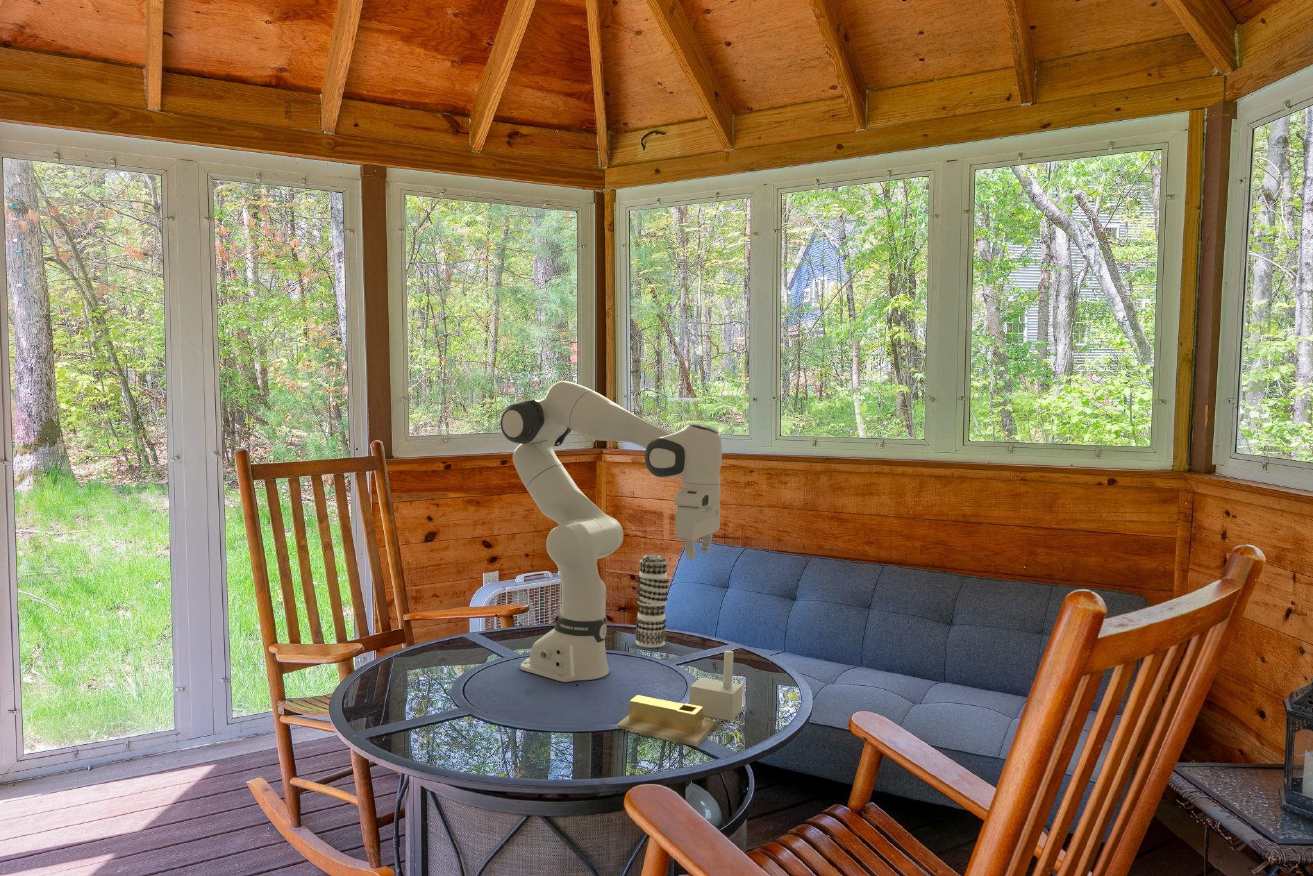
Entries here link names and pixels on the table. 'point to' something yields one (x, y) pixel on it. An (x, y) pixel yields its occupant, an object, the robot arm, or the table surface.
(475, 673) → the table surface
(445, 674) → the table surface
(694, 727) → the brass hook bar
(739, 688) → the peg block
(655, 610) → the decorative candle
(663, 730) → the birch pad
